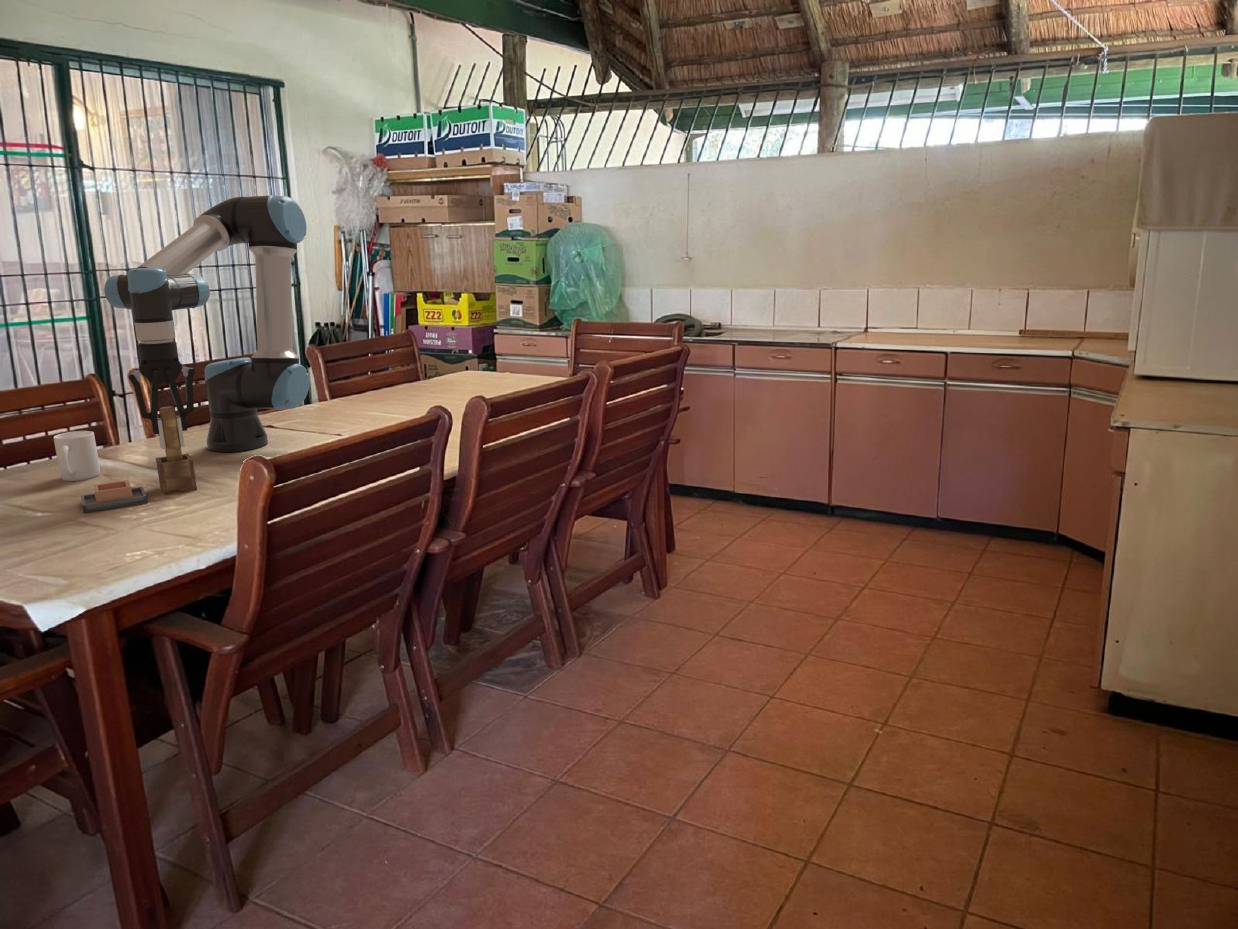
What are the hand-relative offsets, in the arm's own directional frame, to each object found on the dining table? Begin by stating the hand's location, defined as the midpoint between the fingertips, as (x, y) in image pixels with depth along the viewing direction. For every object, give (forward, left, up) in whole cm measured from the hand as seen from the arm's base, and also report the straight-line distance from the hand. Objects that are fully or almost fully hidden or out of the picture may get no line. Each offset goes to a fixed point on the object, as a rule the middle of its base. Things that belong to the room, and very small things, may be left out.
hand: (172, 446), depth 205 cm
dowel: (0, 0, -8) cm, 8 cm away
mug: (+19, -24, -10) cm, 32 cm away
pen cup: (0, 0, -10) cm, 10 cm away
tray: (+13, +4, -10) cm, 17 cm away
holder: (+13, +4, -9) cm, 16 cm away
